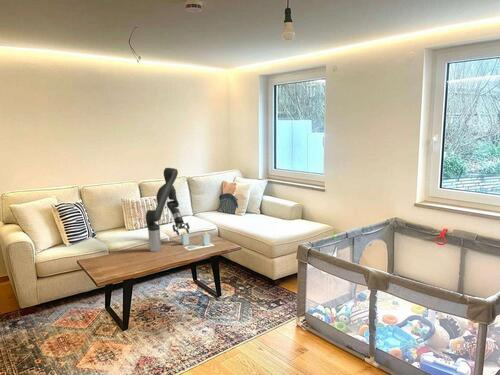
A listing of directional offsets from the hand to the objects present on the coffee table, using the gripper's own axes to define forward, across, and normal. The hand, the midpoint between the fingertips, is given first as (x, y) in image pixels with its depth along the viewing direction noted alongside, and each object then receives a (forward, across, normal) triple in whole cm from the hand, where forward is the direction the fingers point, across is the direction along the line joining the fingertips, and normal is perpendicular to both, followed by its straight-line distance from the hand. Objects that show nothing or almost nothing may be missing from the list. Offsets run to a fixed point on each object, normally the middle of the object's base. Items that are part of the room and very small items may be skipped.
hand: (183, 234), depth 327 cm
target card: (+19, +6, -7) cm, 21 cm away
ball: (+12, +13, -14) cm, 23 cm away
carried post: (+8, 0, +4) cm, 9 cm away
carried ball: (+2, 0, -3) cm, 4 cm away
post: (+19, +13, -8) cm, 24 cm away
